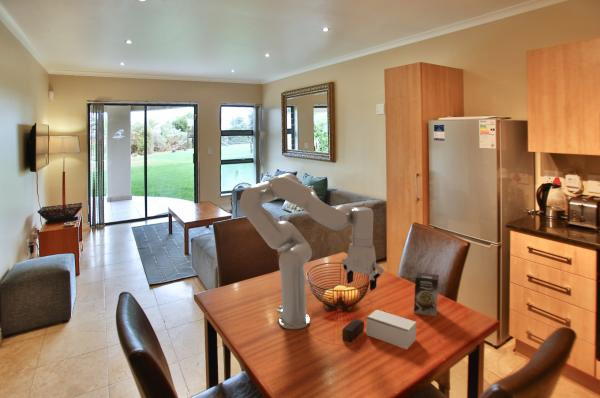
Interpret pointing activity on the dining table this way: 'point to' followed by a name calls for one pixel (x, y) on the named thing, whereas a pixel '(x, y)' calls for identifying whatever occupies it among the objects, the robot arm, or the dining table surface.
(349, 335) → the brick
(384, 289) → the dining table surface
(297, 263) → the robot arm
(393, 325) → the step
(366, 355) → the dining table surface
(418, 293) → the coffee box
